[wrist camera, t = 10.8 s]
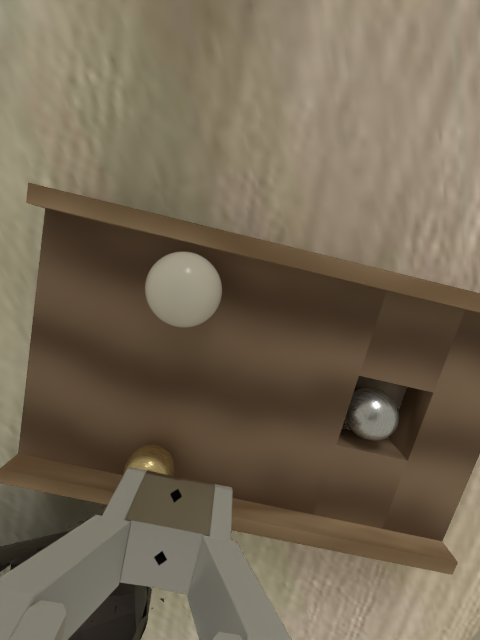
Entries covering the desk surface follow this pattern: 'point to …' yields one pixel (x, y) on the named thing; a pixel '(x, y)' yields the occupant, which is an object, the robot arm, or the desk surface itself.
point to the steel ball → (372, 414)
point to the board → (250, 382)
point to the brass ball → (151, 460)
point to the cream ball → (183, 289)
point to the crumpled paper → (115, 611)
